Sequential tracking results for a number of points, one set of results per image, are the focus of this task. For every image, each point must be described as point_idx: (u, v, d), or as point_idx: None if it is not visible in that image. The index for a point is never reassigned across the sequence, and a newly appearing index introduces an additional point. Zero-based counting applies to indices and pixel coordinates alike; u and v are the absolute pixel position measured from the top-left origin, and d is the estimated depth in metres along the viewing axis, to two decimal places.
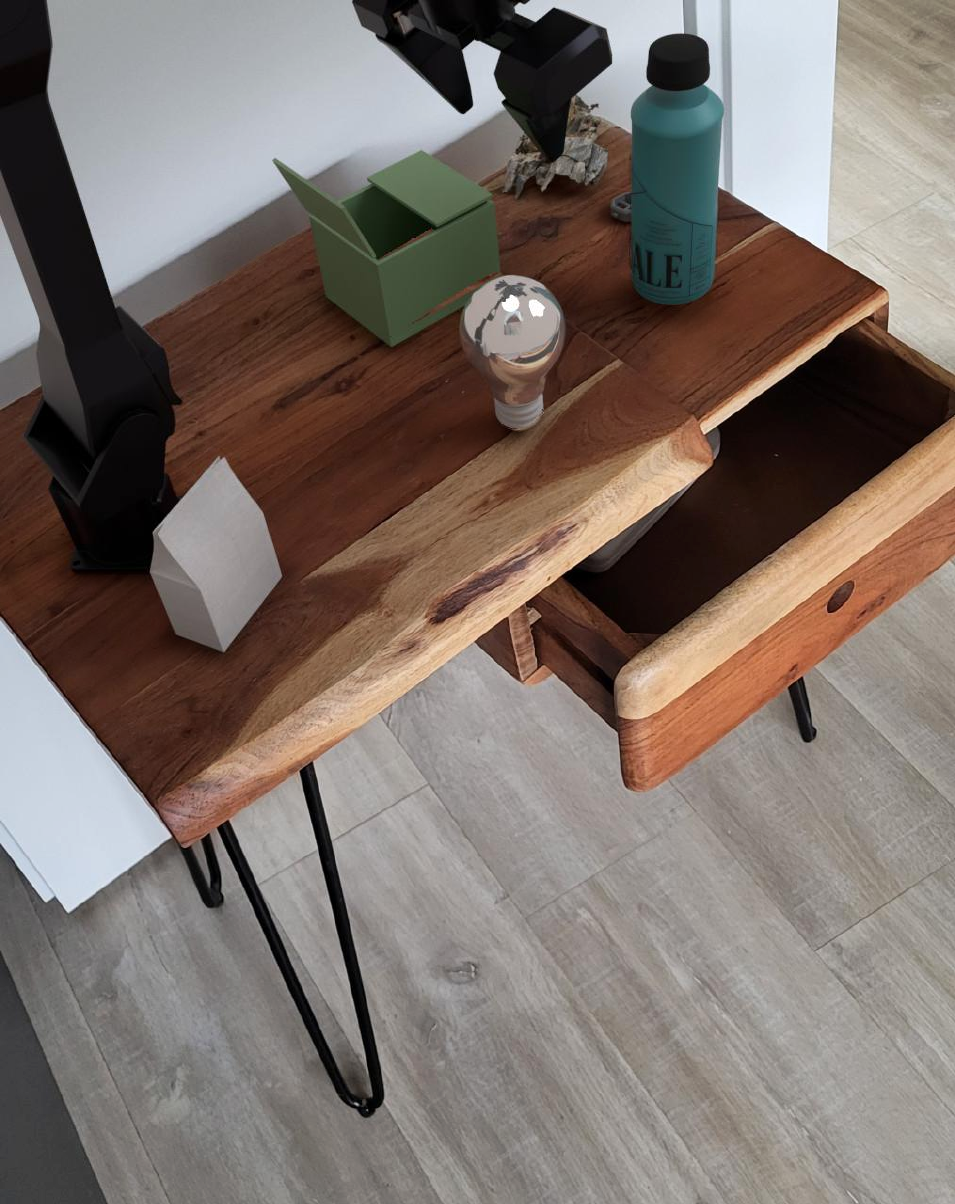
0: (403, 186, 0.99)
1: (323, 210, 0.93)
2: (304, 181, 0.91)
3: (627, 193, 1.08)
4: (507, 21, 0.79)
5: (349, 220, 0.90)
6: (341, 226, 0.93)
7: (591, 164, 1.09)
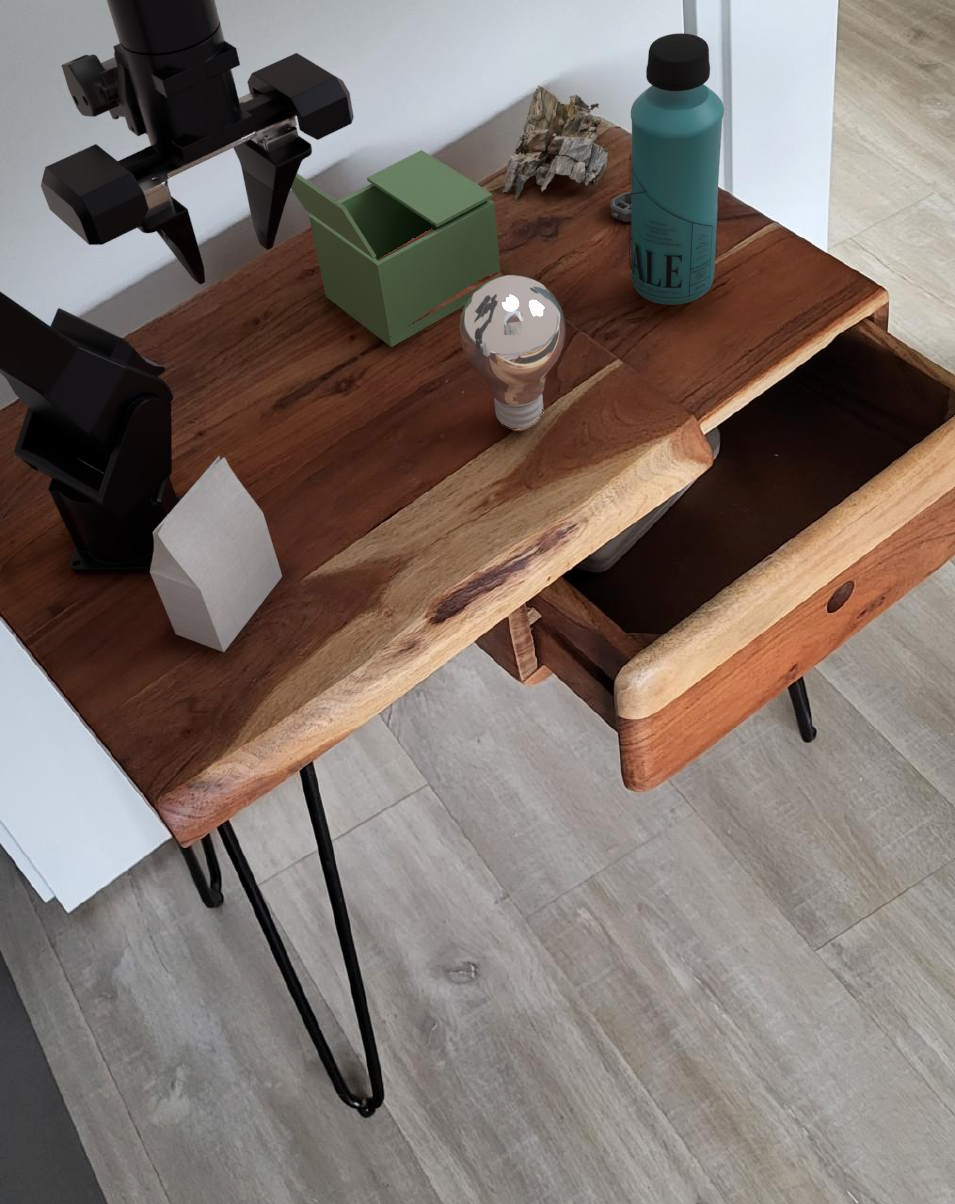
0: (403, 186, 0.99)
1: (323, 210, 0.93)
2: (304, 181, 0.91)
3: (627, 193, 1.08)
4: None
5: (349, 220, 0.90)
6: (341, 226, 0.93)
7: (591, 164, 1.09)
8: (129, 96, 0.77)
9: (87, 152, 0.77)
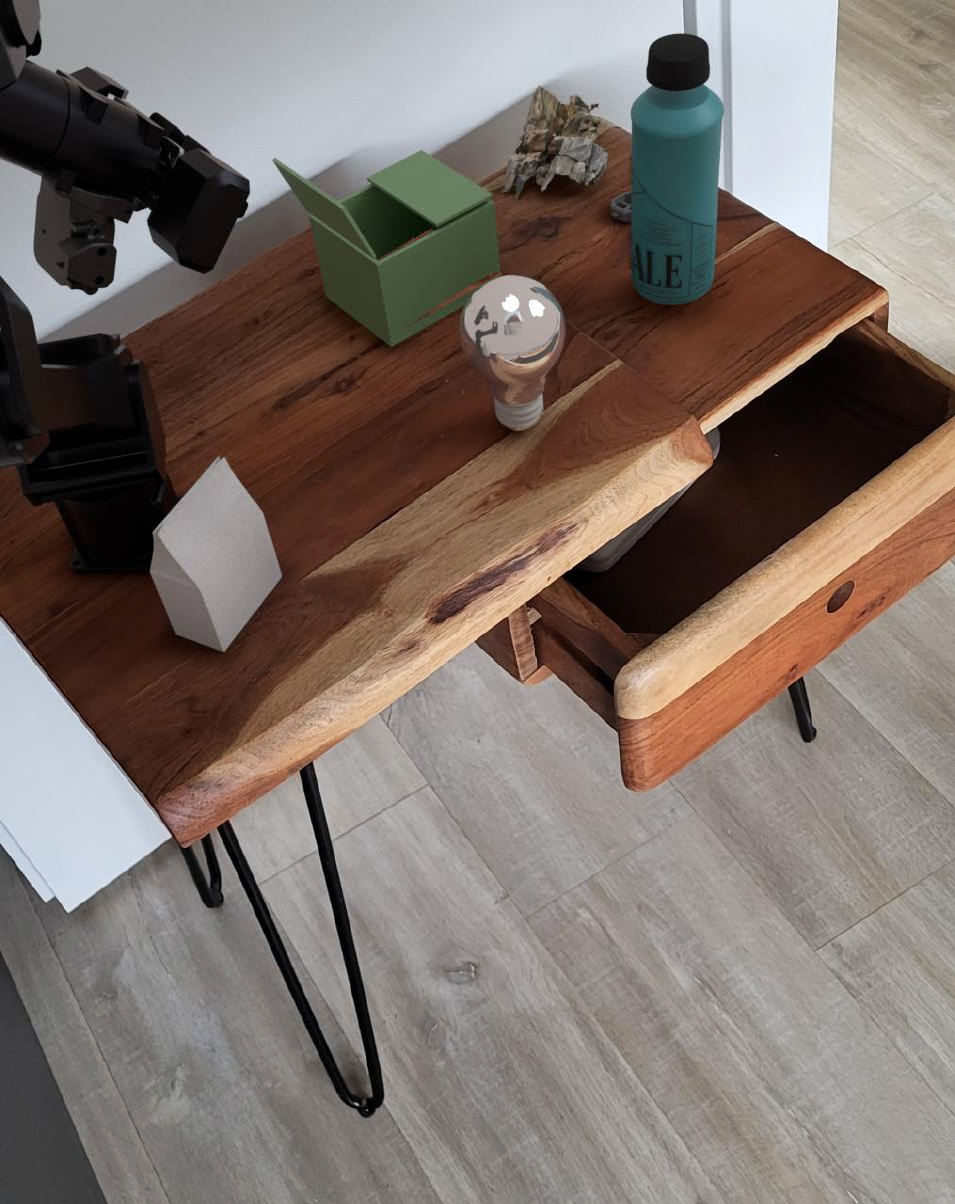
0: (403, 186, 0.99)
1: (323, 210, 0.93)
2: (304, 181, 0.91)
3: (627, 193, 1.08)
4: None
5: (349, 220, 0.90)
6: (341, 226, 0.93)
7: (591, 163, 1.09)
8: (99, 194, 0.79)
9: (156, 222, 0.78)
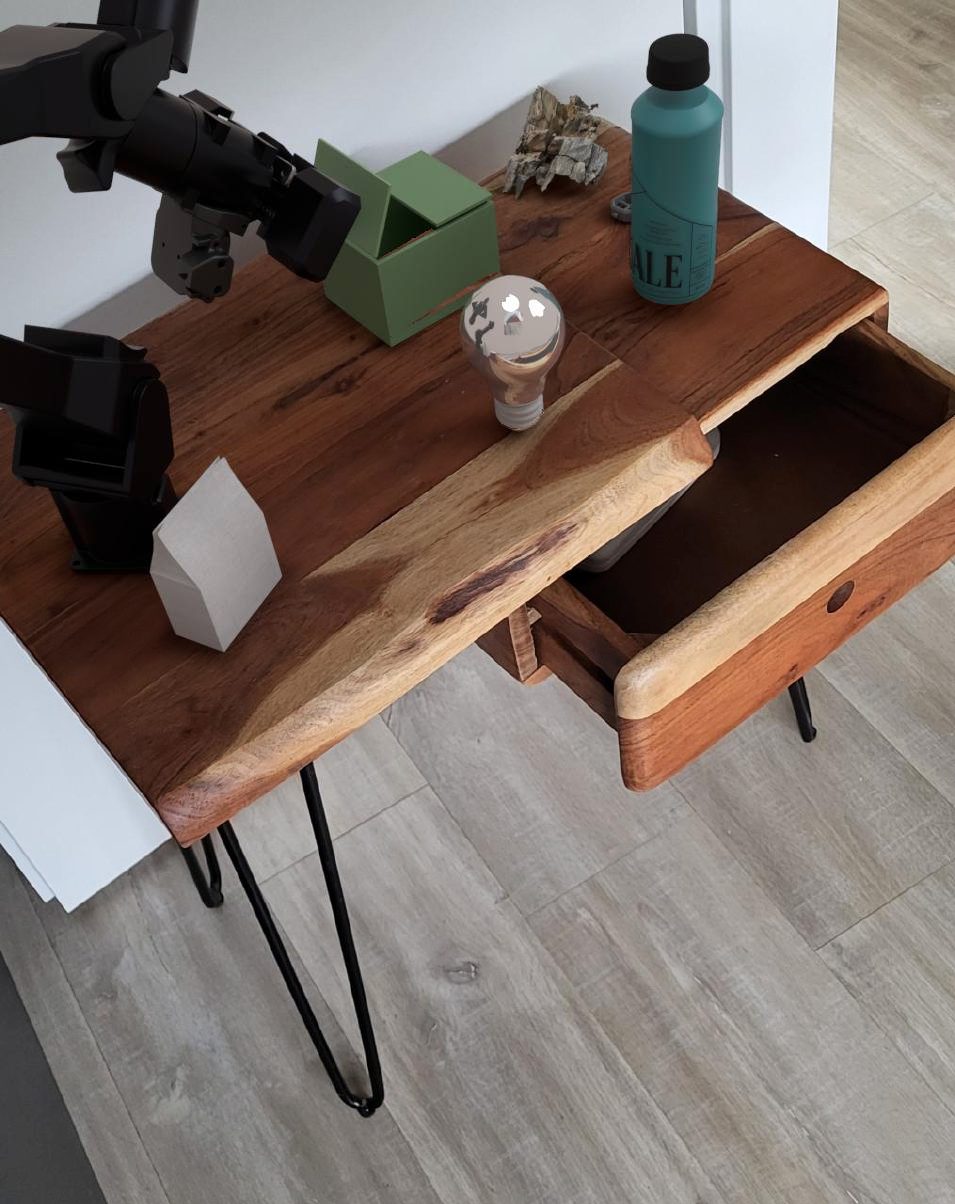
0: (403, 186, 0.99)
1: None
2: (351, 159, 0.93)
3: (627, 193, 1.08)
4: None
5: (385, 202, 0.91)
6: (358, 216, 0.94)
7: (591, 164, 1.09)
8: (219, 210, 0.85)
9: (274, 235, 0.84)
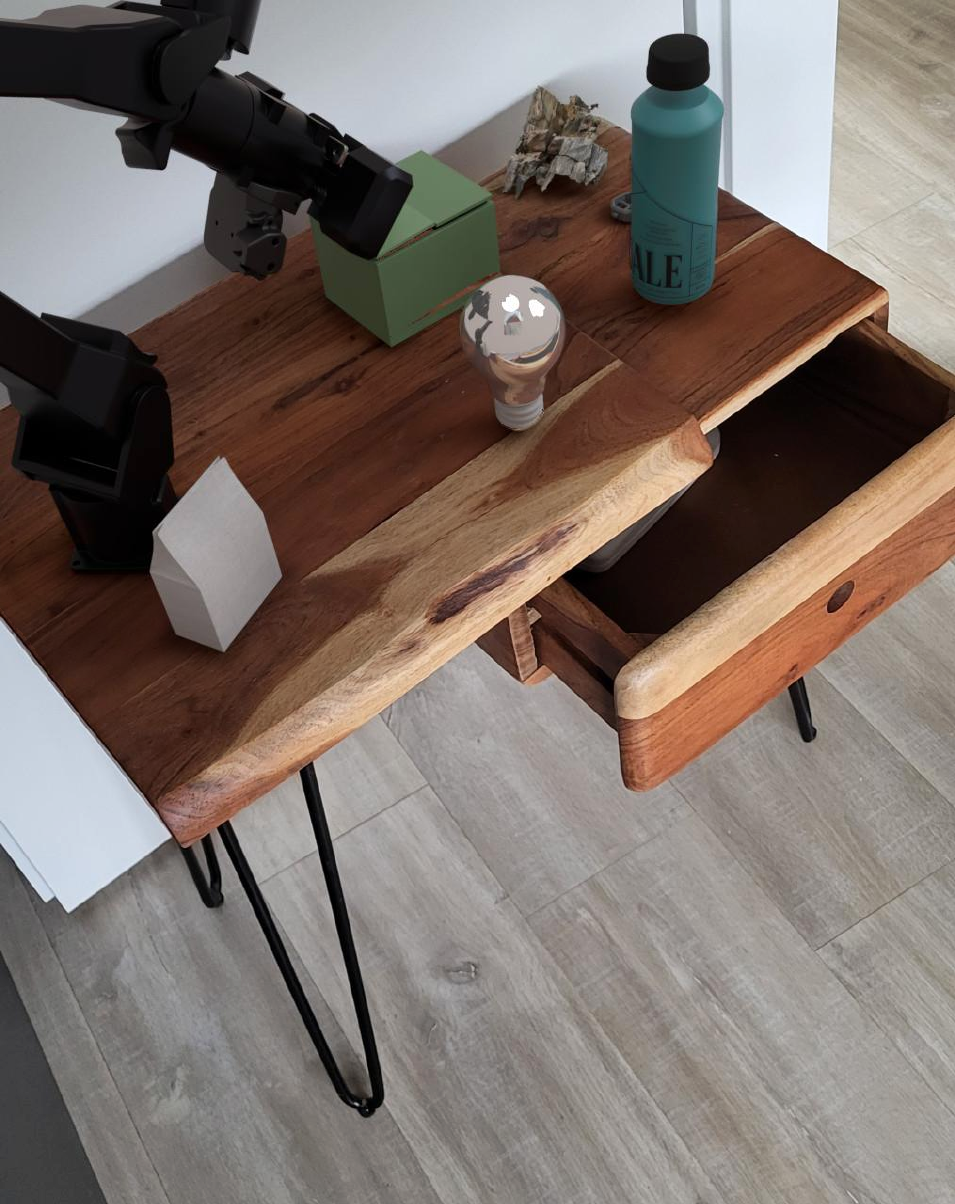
0: None
1: None
2: None
3: (627, 193, 1.08)
4: None
5: (420, 230, 0.95)
6: None
7: (591, 164, 1.09)
8: (273, 188, 0.87)
9: (327, 213, 0.86)
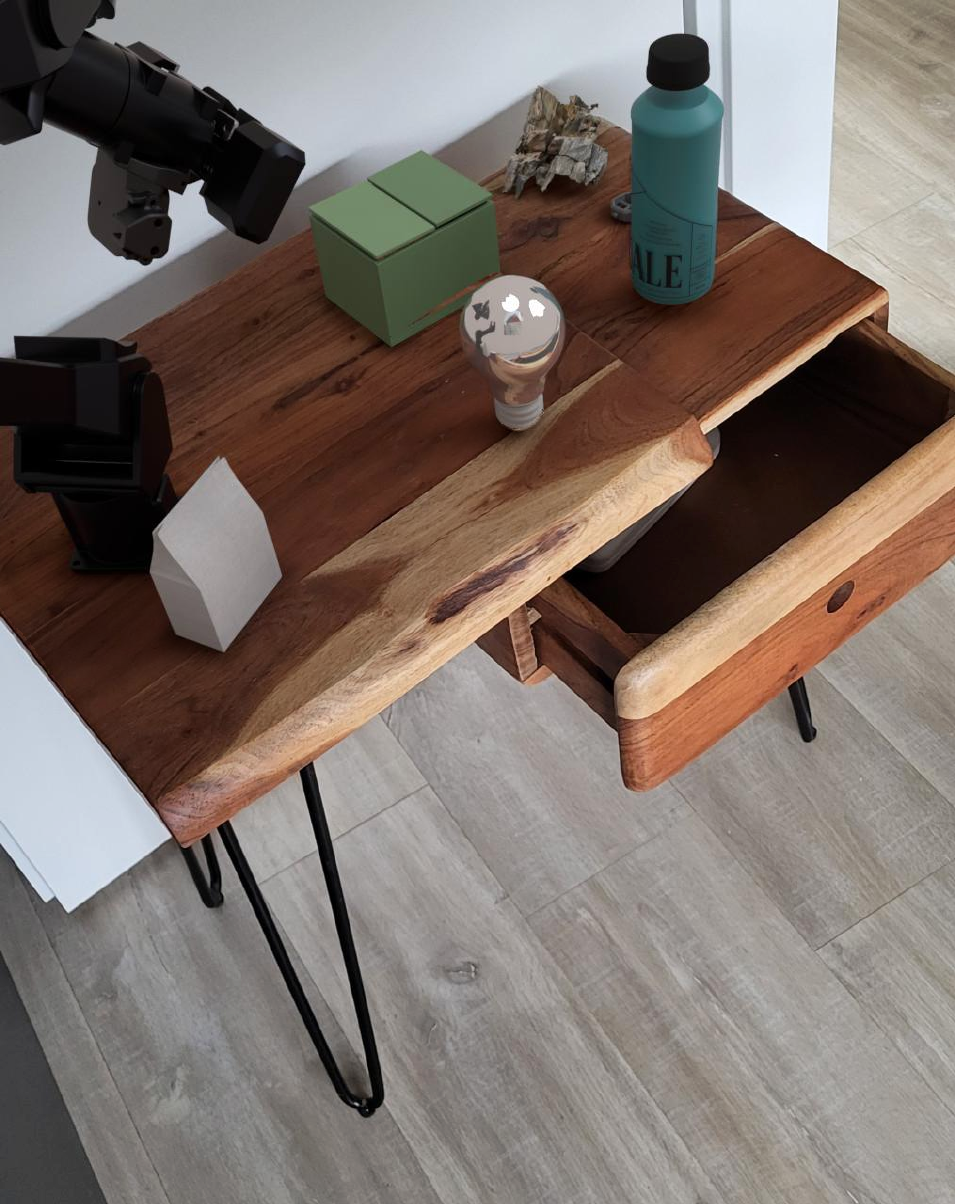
0: (403, 186, 0.99)
1: (371, 217, 0.97)
2: (397, 202, 0.98)
3: (627, 193, 1.08)
4: None
5: (421, 233, 0.95)
6: (377, 230, 0.95)
7: (591, 163, 1.09)
8: (156, 165, 0.80)
9: (213, 193, 0.79)
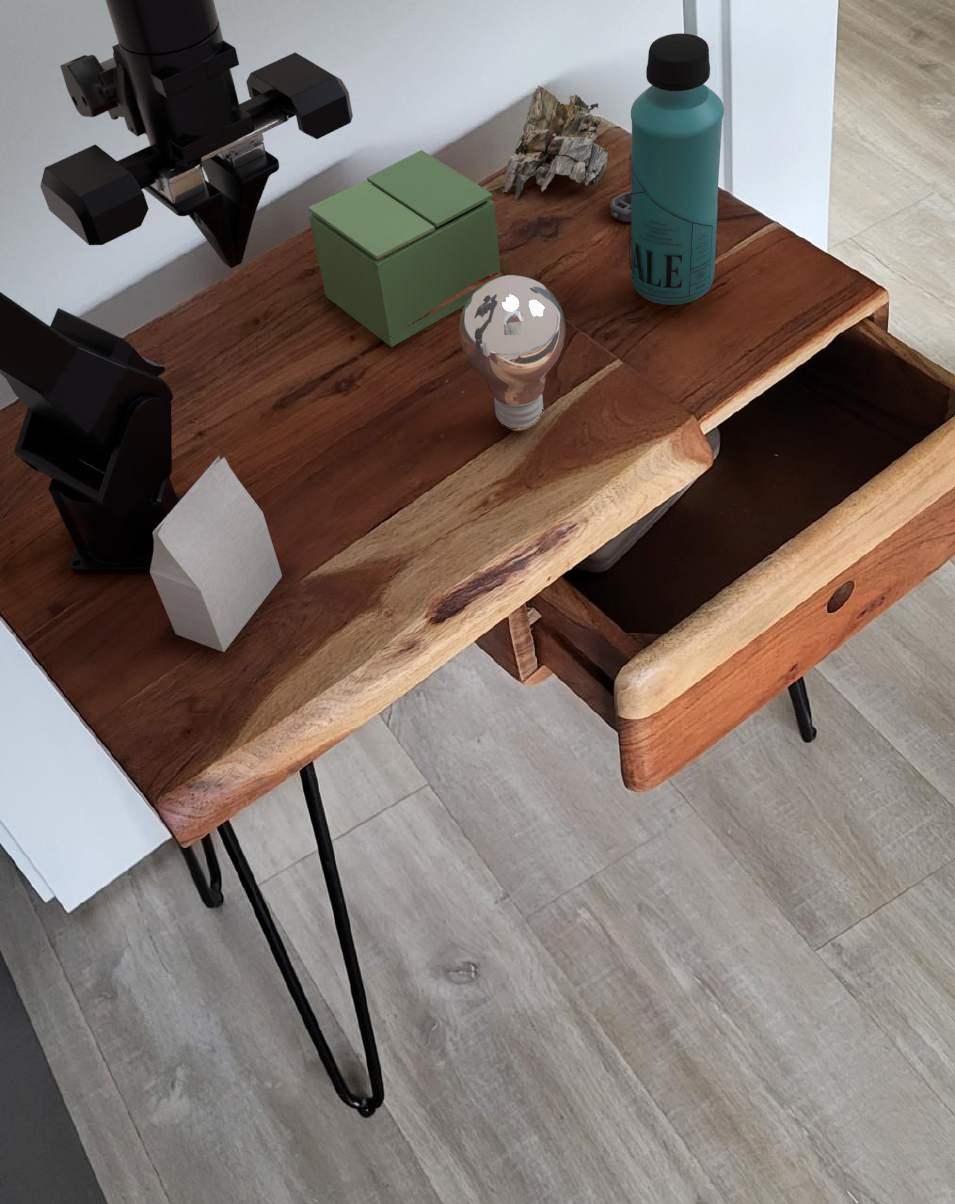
0: (403, 186, 0.99)
1: (371, 217, 0.97)
2: (397, 202, 0.98)
3: (627, 193, 1.08)
4: None
5: (421, 233, 0.95)
6: (377, 230, 0.95)
7: (591, 163, 1.09)
8: (128, 96, 0.77)
9: (86, 152, 0.77)
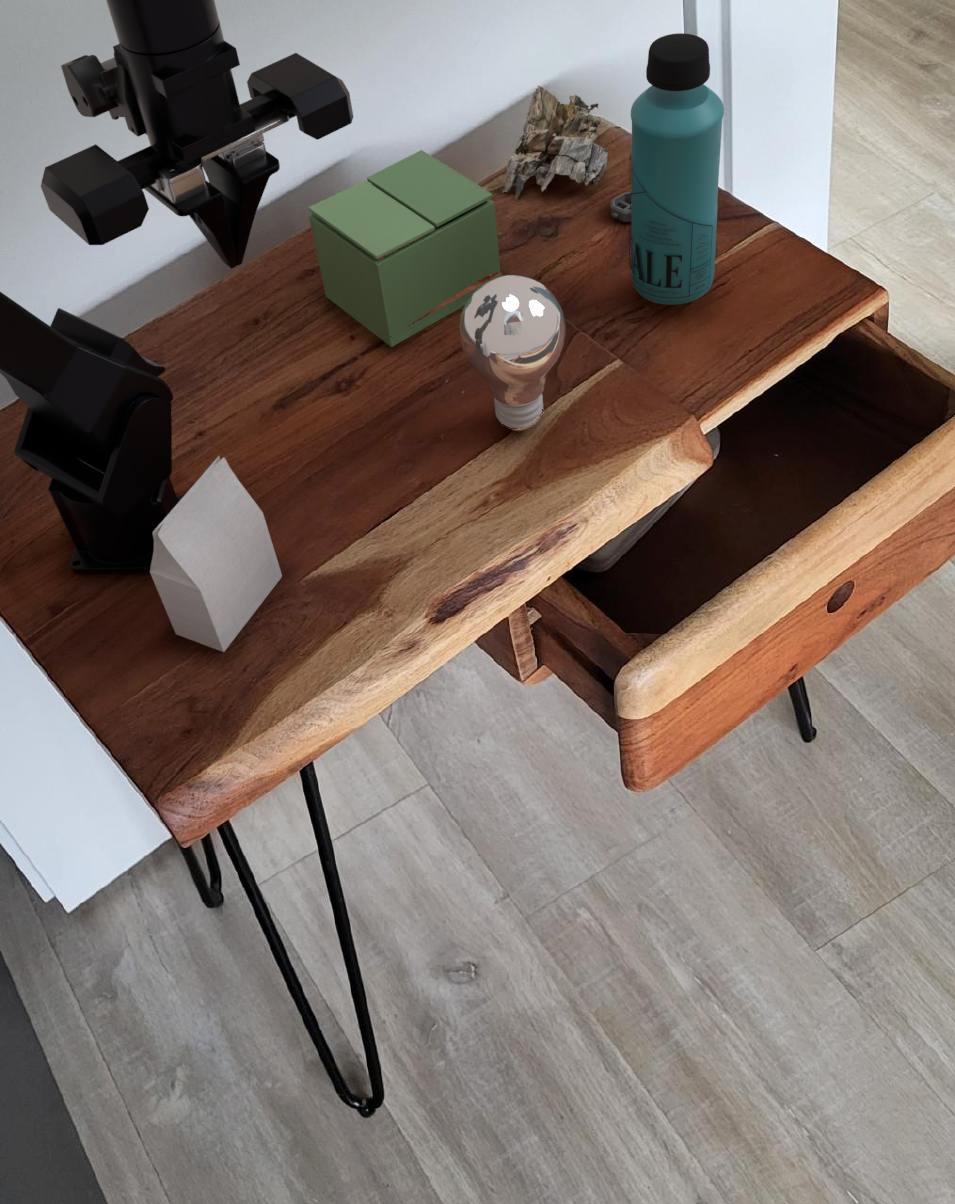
0: (403, 186, 0.99)
1: (371, 217, 0.97)
2: (397, 202, 0.98)
3: (627, 193, 1.08)
4: None
5: (421, 233, 0.95)
6: (377, 230, 0.95)
7: (591, 163, 1.09)
8: (129, 96, 0.77)
9: (87, 152, 0.77)
